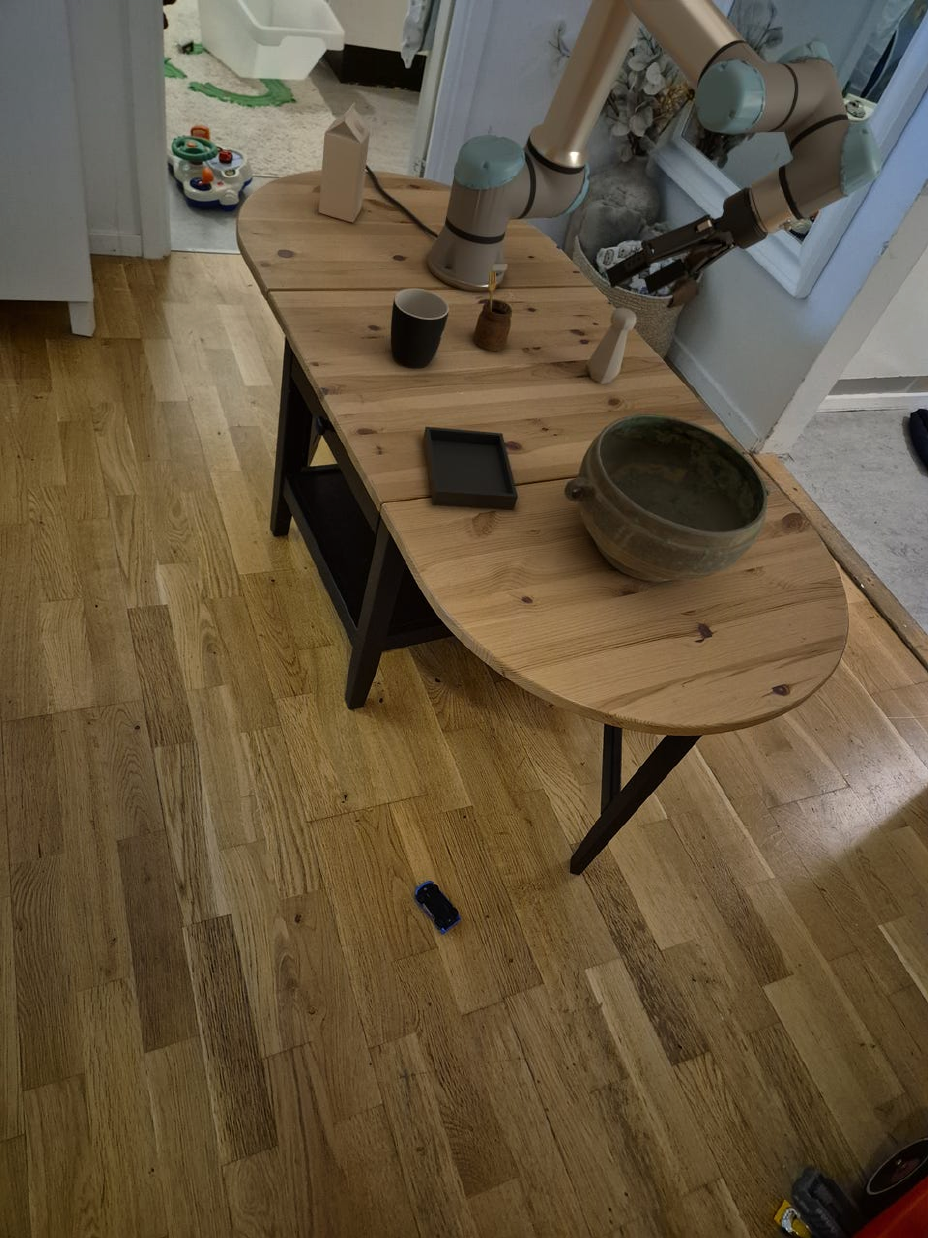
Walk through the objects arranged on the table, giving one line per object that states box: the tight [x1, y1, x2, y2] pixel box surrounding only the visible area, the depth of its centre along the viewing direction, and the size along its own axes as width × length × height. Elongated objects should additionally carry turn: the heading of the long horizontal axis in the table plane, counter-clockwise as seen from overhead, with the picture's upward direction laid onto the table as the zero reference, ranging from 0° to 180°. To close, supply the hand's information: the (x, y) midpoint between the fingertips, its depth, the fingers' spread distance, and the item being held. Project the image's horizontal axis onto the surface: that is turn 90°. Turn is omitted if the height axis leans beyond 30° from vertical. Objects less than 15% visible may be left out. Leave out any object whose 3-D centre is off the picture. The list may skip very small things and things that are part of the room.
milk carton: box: [318, 102, 371, 223], centre depth 155 cm, size 7×7×19 cm
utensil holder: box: [473, 270, 517, 352], centre depth 139 cm, size 6×6×12 cm
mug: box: [390, 287, 449, 369], centre depth 133 cm, size 12×9×10 cm
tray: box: [422, 426, 519, 511], centre depth 119 cm, size 14×12×3 cm
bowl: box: [564, 413, 772, 583], centre depth 113 cm, size 32×26×15 cm
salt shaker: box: [588, 307, 638, 385], centre depth 140 cm, size 6×6×13 cm
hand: (628, 282), depth 127 cm, fingers open, 13 cm apart
